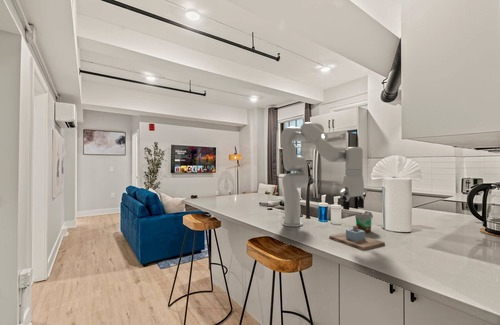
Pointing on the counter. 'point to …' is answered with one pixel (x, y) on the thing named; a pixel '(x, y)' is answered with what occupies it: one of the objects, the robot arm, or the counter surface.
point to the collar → (355, 235)
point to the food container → (364, 221)
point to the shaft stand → (362, 244)
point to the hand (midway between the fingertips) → (353, 208)
